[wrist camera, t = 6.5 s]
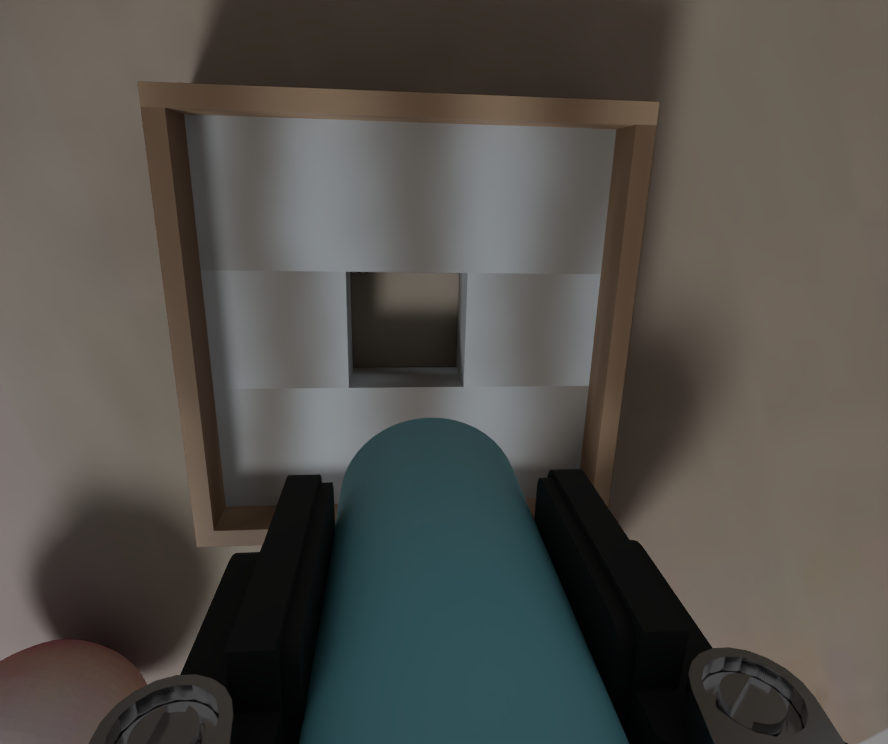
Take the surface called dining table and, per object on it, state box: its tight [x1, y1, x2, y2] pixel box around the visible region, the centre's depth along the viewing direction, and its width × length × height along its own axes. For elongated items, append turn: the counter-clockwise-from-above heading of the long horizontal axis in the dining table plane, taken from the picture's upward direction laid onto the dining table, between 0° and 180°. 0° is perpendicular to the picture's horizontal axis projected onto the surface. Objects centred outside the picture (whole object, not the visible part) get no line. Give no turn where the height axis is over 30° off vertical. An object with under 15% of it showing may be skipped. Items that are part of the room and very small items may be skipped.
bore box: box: [137, 81, 660, 547], centre depth 26 cm, size 19×19×5 cm
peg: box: [299, 418, 629, 744], centre depth 7 cm, size 4×4×10 cm
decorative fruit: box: [0, 639, 147, 744], centre depth 28 cm, size 9×8×10 cm
